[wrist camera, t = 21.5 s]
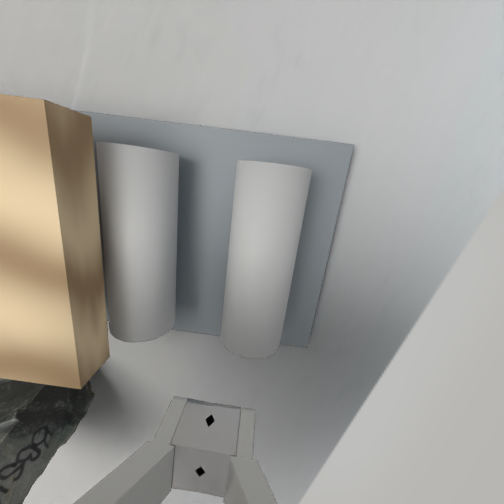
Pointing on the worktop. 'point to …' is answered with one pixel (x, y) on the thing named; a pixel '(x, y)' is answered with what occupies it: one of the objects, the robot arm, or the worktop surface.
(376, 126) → the worktop surface
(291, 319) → the roller bed
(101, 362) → the oak slab
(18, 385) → the stone block
